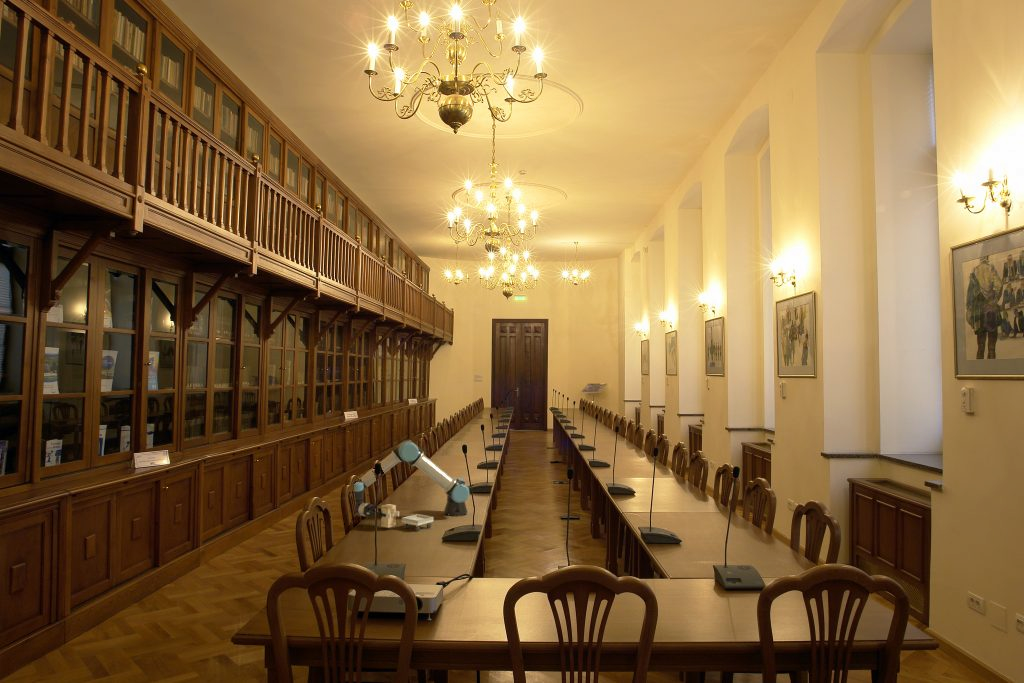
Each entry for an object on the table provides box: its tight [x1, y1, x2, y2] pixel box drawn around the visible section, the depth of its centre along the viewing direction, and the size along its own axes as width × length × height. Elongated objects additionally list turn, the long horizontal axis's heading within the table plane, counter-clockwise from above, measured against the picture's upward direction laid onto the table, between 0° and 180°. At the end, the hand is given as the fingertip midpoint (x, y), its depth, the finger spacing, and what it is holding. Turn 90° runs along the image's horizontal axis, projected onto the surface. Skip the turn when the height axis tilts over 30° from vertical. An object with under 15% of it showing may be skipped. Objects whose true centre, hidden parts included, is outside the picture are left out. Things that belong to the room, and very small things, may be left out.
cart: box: [401, 513, 434, 532], centre depth 395 cm, size 13×13×6 cm
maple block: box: [380, 503, 397, 528], centre depth 392 cm, size 6×6×12 cm
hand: (394, 514), depth 389 cm, fingers closed on maple block, 6 cm apart
